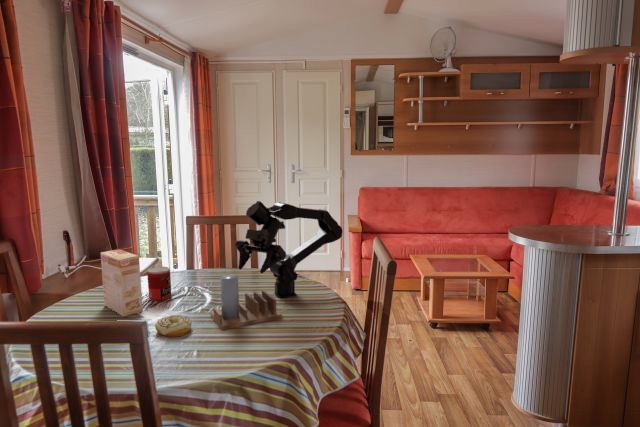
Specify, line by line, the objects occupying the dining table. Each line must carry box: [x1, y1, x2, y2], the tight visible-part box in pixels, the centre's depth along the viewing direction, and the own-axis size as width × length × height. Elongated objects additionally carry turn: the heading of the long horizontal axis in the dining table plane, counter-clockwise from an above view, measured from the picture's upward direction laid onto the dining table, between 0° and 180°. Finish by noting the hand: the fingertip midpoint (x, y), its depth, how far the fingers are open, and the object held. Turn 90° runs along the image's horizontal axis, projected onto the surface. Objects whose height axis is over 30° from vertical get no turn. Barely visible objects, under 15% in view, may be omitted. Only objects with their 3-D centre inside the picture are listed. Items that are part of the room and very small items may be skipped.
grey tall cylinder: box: [220, 274, 240, 319], centre depth 150 cm, size 6×6×13 cm
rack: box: [210, 289, 283, 331], centre depth 153 cm, size 20×13×6 cm, turn 117°
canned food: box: [146, 266, 172, 303], centre depth 171 cm, size 8×8×11 cm
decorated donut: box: [154, 314, 192, 338], centre depth 143 cm, size 10×11×4 cm
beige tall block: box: [100, 249, 143, 318], centre depth 160 cm, size 15×7×20 cm, turn 47°
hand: (250, 271), depth 159 cm, fingers open, 9 cm apart
